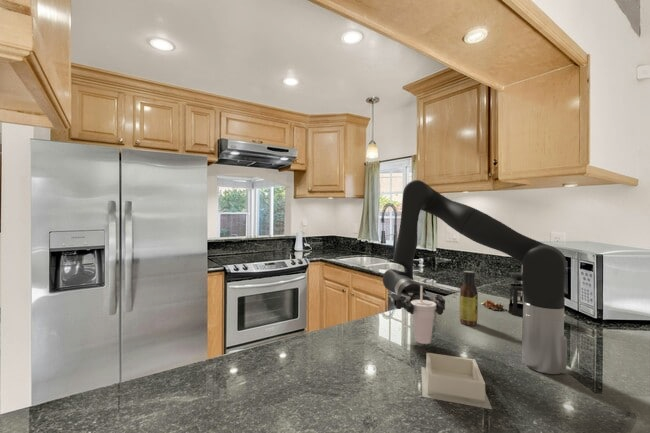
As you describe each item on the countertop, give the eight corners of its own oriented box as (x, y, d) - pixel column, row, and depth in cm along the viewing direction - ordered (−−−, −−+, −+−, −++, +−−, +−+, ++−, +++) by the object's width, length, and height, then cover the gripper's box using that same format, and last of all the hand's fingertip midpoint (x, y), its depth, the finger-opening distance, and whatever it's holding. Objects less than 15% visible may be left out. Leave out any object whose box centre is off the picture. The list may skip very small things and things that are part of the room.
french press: (501, 311, 133) (503, 258, 132) (514, 308, 137) (516, 257, 137) (530, 320, 122) (532, 262, 122) (543, 317, 127) (545, 261, 126)
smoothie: (415, 333, 82) (416, 281, 82) (439, 340, 78) (440, 285, 78) (405, 341, 77) (406, 286, 77) (430, 348, 73) (431, 290, 73)
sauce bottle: (479, 327, 113) (480, 273, 113) (461, 325, 115) (462, 272, 114) (474, 321, 120) (475, 270, 120) (457, 319, 121) (458, 269, 121)
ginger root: (487, 303, 146) (487, 296, 146) (508, 311, 134) (508, 303, 134) (475, 304, 144) (475, 296, 144) (495, 312, 133) (495, 304, 133)
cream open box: (474, 377, 77) (475, 359, 77) (484, 404, 66) (485, 383, 66) (426, 369, 80) (426, 352, 80) (427, 394, 69) (428, 374, 69)
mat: (478, 377, 78) (478, 375, 78) (492, 411, 64) (492, 409, 64) (421, 368, 82) (421, 366, 82) (422, 399, 68) (422, 396, 68)
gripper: (385, 279, 92) (397, 294, 75) (433, 280, 92) (456, 295, 75) (385, 304, 92) (397, 324, 76) (433, 305, 92) (455, 326, 75)
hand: (426, 310), depth 75 cm, fingers closed on smoothie, 6 cm apart
